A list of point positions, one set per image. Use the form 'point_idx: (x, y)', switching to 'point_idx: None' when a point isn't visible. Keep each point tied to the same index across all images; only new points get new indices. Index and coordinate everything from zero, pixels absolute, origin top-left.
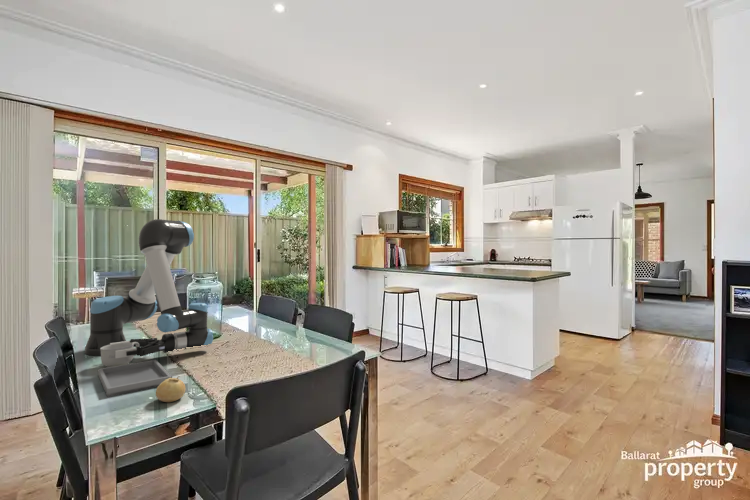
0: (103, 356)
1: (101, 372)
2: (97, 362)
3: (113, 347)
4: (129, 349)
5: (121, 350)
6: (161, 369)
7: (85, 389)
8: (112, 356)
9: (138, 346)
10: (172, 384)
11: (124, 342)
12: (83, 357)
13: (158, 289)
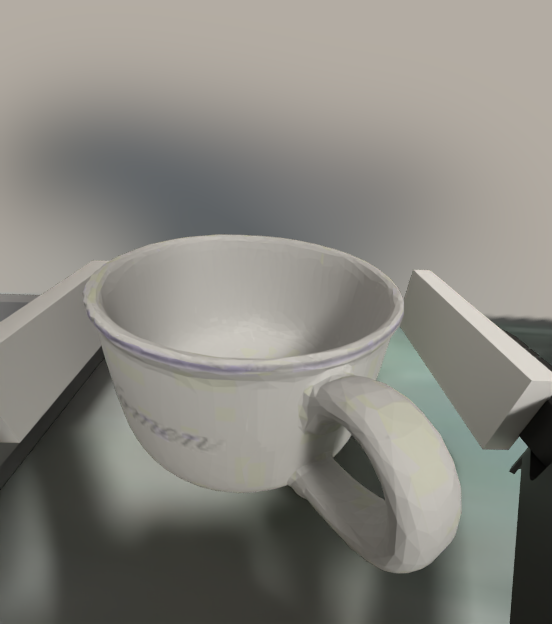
0: (216, 282)
1: (36, 297)
2: (392, 348)
3: (367, 302)
4: (12, 318)
5: (67, 279)
6: None
7: (3, 293)
8: (155, 300)
9: (385, 540)
10: None
11: (479, 342)
12: (515, 323)
13: None
